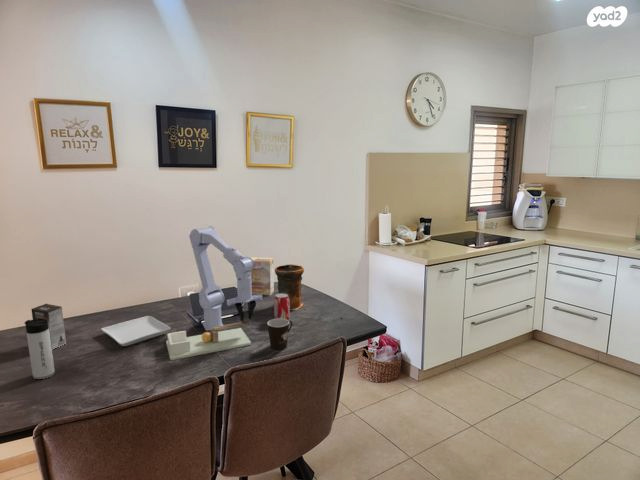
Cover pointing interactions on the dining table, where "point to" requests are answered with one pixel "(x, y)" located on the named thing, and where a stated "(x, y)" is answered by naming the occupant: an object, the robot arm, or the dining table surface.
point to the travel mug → (40, 348)
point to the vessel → (290, 283)
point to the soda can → (281, 306)
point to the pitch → (225, 341)
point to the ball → (206, 337)
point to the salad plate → (136, 330)
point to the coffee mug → (278, 333)
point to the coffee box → (52, 322)
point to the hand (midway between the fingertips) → (245, 319)
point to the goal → (178, 342)
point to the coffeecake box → (262, 276)
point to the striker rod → (230, 326)
